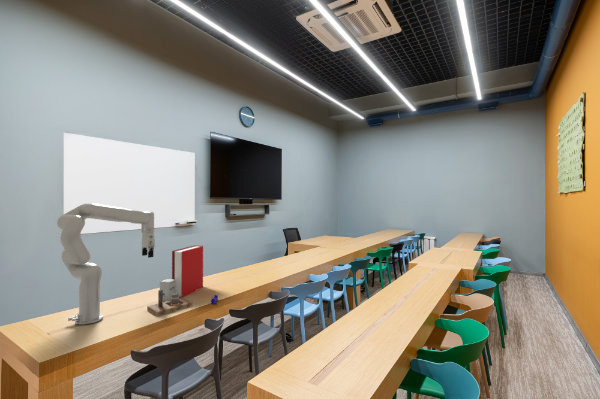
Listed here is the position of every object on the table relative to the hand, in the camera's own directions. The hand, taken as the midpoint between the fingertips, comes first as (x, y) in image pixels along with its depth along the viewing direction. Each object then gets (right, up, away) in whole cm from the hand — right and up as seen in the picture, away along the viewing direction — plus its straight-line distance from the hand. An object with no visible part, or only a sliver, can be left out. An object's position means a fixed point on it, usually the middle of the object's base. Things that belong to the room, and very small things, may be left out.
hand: (147, 256), depth 197 cm
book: (+18, -31, +24) cm, 43 cm away
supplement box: (+10, -31, +7) cm, 33 cm away
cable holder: (+44, -31, 0) cm, 53 cm away
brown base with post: (+20, -30, -11) cm, 38 cm away
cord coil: (+22, -30, -9) cm, 38 cm away
